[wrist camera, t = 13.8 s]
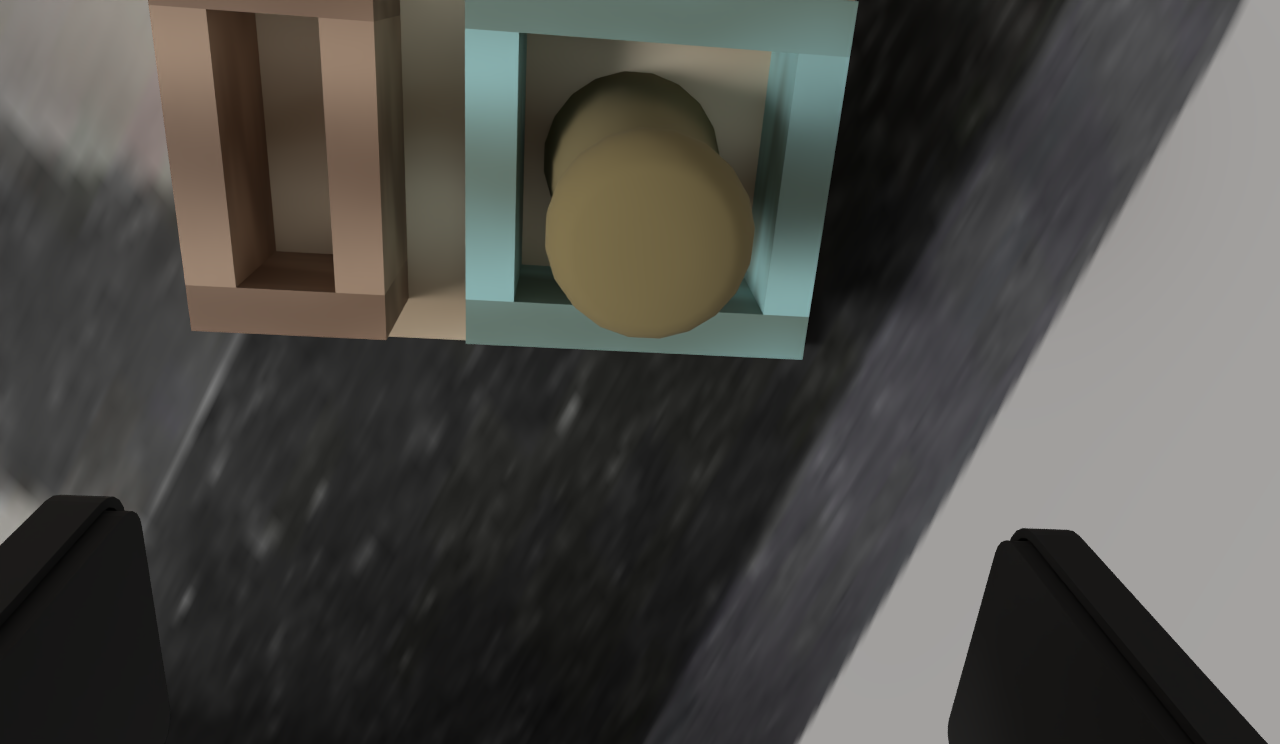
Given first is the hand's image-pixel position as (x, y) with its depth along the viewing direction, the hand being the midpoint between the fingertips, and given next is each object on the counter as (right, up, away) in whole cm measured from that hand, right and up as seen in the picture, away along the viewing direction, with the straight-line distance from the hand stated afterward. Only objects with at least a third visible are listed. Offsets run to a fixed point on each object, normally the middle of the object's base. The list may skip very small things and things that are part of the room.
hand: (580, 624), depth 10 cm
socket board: (-4, +11, +22) cm, 24 cm away
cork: (0, +10, +21) cm, 23 cm away
